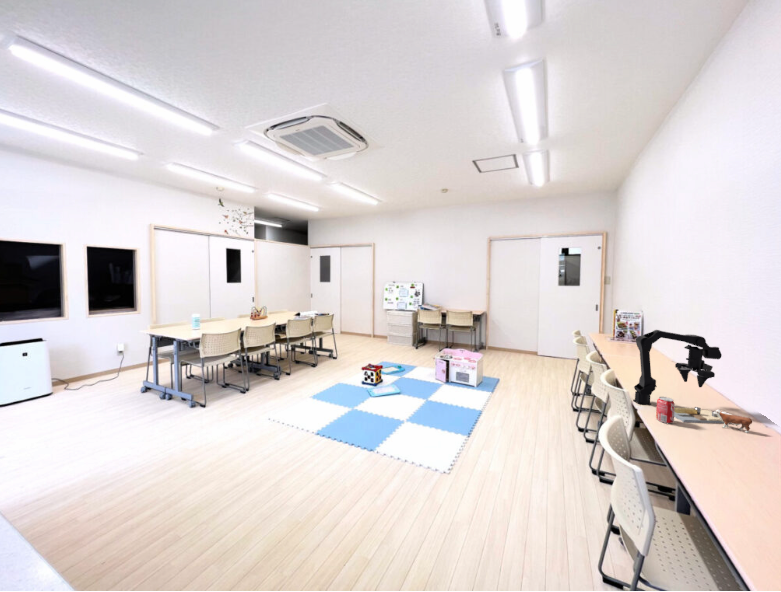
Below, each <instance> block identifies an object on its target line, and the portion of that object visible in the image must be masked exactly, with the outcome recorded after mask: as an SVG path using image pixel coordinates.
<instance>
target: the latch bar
mask: <svg viewBox="0 0 781 592" xmlns="http://www.w3.org/2000/svg"><path fill="white" fill-rule="evenodd" d="M701 410H702V409H701V407H698V406H694V407H691V408H690V407H675V411H674V412H676V413H685V414H700V412H701Z"/></svg>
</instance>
